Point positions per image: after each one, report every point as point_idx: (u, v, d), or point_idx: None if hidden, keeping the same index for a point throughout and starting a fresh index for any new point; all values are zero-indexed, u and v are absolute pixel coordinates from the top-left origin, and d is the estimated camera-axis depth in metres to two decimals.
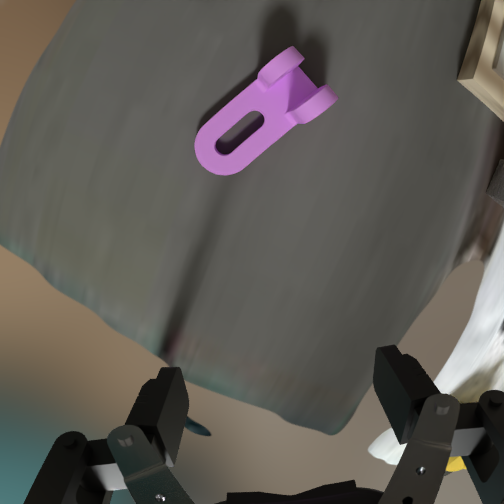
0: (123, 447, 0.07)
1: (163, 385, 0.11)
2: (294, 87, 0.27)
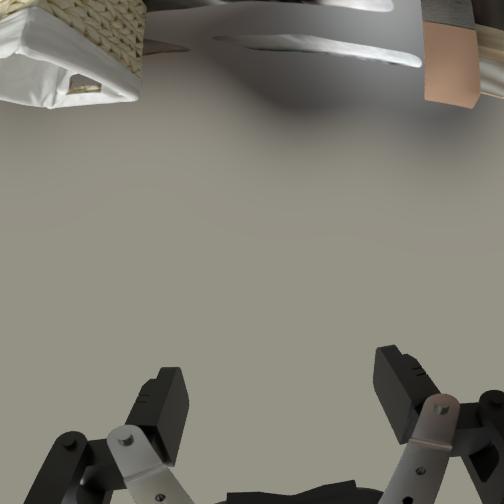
0: (123, 447, 0.07)
1: (163, 385, 0.11)
2: None
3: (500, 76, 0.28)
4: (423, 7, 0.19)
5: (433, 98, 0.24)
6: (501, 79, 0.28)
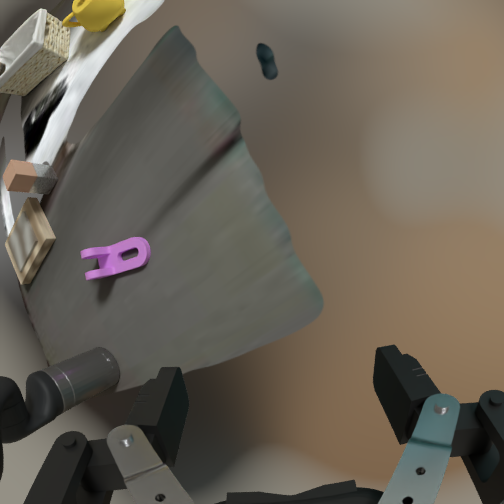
0: (123, 447, 0.07)
1: (163, 385, 0.11)
2: (104, 262, 0.61)
3: (27, 242, 0.66)
4: (37, 164, 0.62)
5: (4, 175, 0.56)
6: (26, 246, 0.66)
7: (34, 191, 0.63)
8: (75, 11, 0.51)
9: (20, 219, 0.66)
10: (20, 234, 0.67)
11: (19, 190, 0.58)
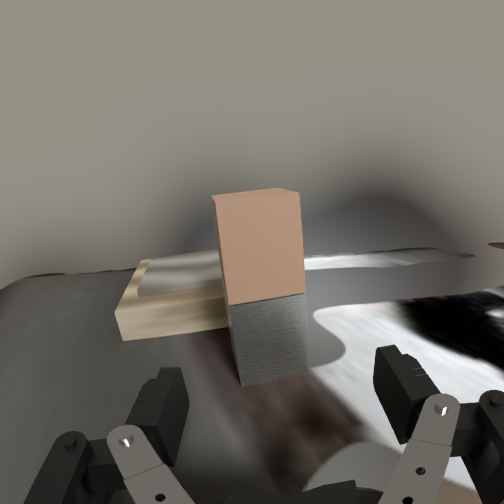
0: (123, 447, 0.07)
1: (163, 385, 0.11)
2: None
3: (161, 276, 0.35)
4: (303, 315, 0.21)
5: (269, 189, 0.23)
6: (159, 274, 0.36)
7: (225, 300, 0.25)
8: None
9: None
10: (197, 267, 0.37)
11: (217, 242, 0.24)
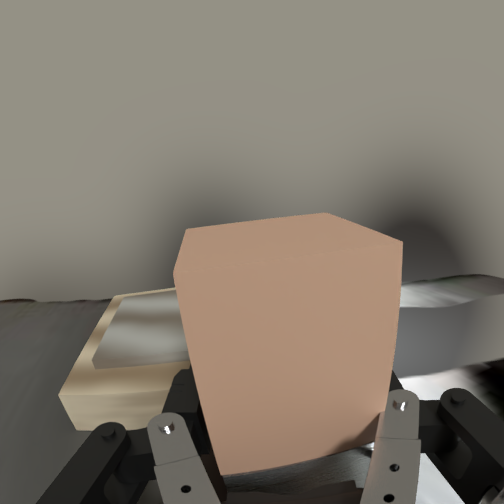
0: (165, 434, 0.08)
1: None
2: None
3: (131, 333, 0.23)
4: (367, 468, 0.09)
5: (311, 218, 0.11)
6: (128, 328, 0.24)
7: None
8: None
9: None
10: None
11: None
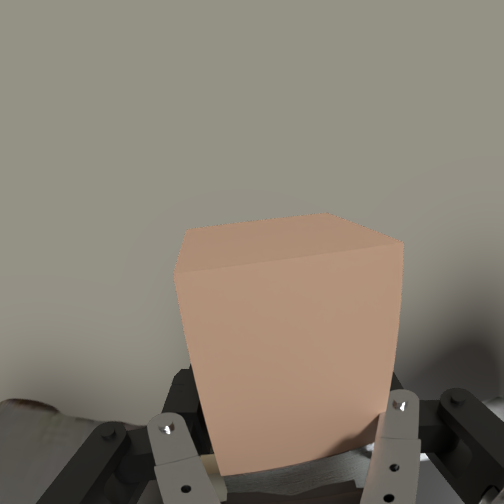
0: (166, 434, 0.08)
1: None
2: None
3: None
4: None
5: (312, 218, 0.11)
6: None
7: None
8: None
9: None
10: None
11: None
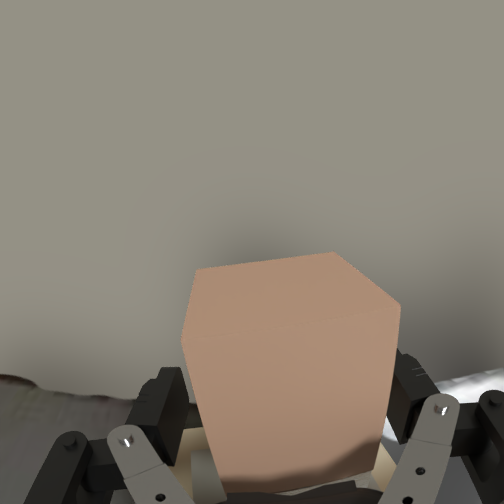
0: (123, 447, 0.07)
1: (163, 385, 0.11)
2: None
3: None
4: None
5: (318, 261, 0.11)
6: None
7: None
8: None
9: None
10: None
11: None
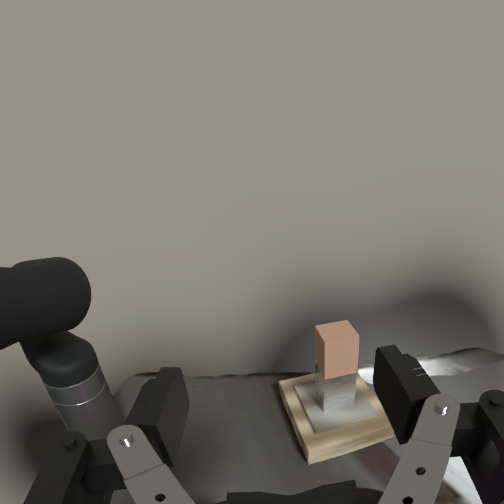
0: (123, 447, 0.07)
1: (163, 385, 0.11)
2: None
3: (323, 412, 0.44)
4: (354, 381, 0.44)
5: (343, 323, 0.45)
6: (319, 409, 0.45)
7: (316, 371, 0.48)
8: None
9: (367, 404, 0.44)
10: None
11: (316, 346, 0.47)
